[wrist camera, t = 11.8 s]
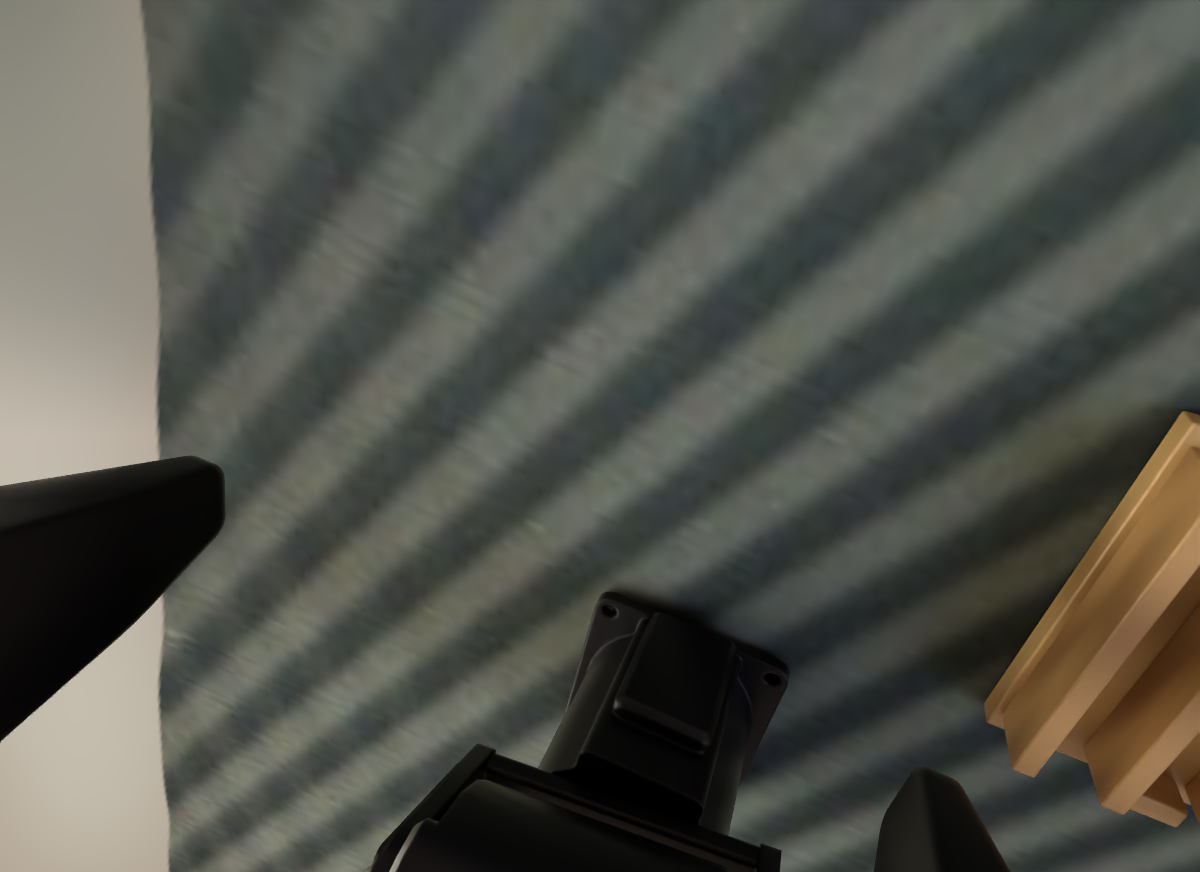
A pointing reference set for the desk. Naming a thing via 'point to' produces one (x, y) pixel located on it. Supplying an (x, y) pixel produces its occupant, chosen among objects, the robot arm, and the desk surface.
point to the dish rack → (1122, 650)
